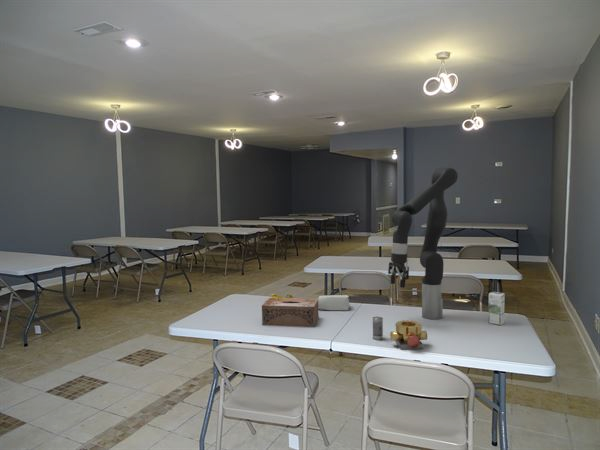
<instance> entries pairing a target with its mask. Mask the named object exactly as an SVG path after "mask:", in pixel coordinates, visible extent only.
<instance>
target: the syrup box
mask: <svg viewBox="0 0 600 450" xmlns="http://www.w3.org/2000/svg"><path fill="white" fill-rule="evenodd" d="M505 298H506V297H505V293H504V292H497V291H491V292H489V293H488V318H487V319H488V324H491V325H497V326H501V325H503V324H504V323H505Z"/></svg>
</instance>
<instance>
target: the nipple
mask: <svg viewBox="0 0 600 450" xmlns="http://www.w3.org/2000/svg"><path fill="white" fill-rule="evenodd" d="M383 320H384V318H383V317H382V316H373V317H372V339H373V340H376V341H381V339H382V340H384V334H383V332H384V330H383V327H384V326H383V325H384V323H383V322H384V321H383Z"/></svg>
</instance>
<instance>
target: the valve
mask: <svg viewBox="0 0 600 450" xmlns="http://www.w3.org/2000/svg"><path fill="white" fill-rule="evenodd" d="M422 327H423V325H422V324H421V322H419V321H415V320H410V319H409V320H408V319H407V320H406V319H405V320H404V319H401V320H399V321H396V323H395V331H390V334H389V335H390V341H393V342H395V344H396V345H397V346H398V347H399V349H400V351H401V350H403V351H404V350H424V343H423V342H421V341H427V340H428V332H427V331H426V330H422Z"/></svg>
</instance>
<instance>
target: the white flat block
mask: <svg viewBox="0 0 600 450" xmlns="http://www.w3.org/2000/svg"><path fill="white" fill-rule="evenodd" d="M317 299H318V309H319V310H320V311H350V309H351V308H350V296H349V295H348V294H347V295H345V294H344V295H343V294H342V295H341V294H340V295H339V294H333V295H332V294H331V295H330V294H329V295H319V296H318V298H317Z"/></svg>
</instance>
